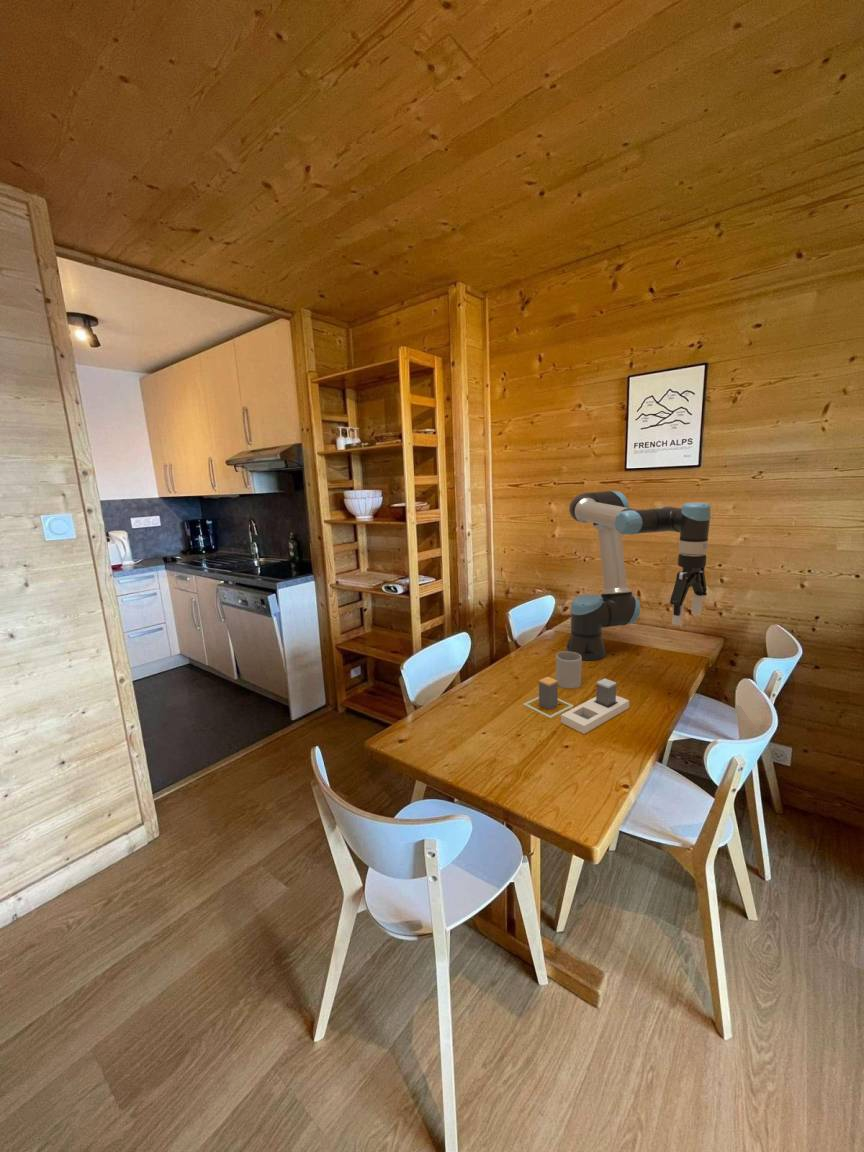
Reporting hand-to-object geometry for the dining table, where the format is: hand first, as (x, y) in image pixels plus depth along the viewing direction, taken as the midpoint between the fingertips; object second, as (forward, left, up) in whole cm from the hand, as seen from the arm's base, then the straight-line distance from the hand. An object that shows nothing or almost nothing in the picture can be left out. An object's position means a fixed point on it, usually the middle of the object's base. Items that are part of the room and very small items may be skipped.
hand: (686, 619), depth 146 cm
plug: (-21, -41, -24) cm, 52 cm away
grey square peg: (-8, -30, -24) cm, 39 cm away
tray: (-21, -41, -25) cm, 52 cm away
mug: (-27, -22, -25) cm, 43 cm away
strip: (-8, -35, -25) cm, 44 cm away
